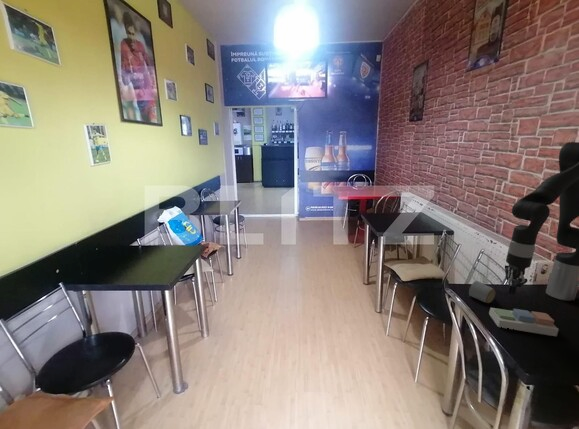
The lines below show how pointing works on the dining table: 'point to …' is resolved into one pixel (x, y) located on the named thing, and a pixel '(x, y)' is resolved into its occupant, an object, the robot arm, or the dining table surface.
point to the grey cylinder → (482, 292)
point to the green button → (504, 314)
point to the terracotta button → (542, 318)
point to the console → (523, 325)
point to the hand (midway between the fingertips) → (510, 293)
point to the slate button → (523, 315)
